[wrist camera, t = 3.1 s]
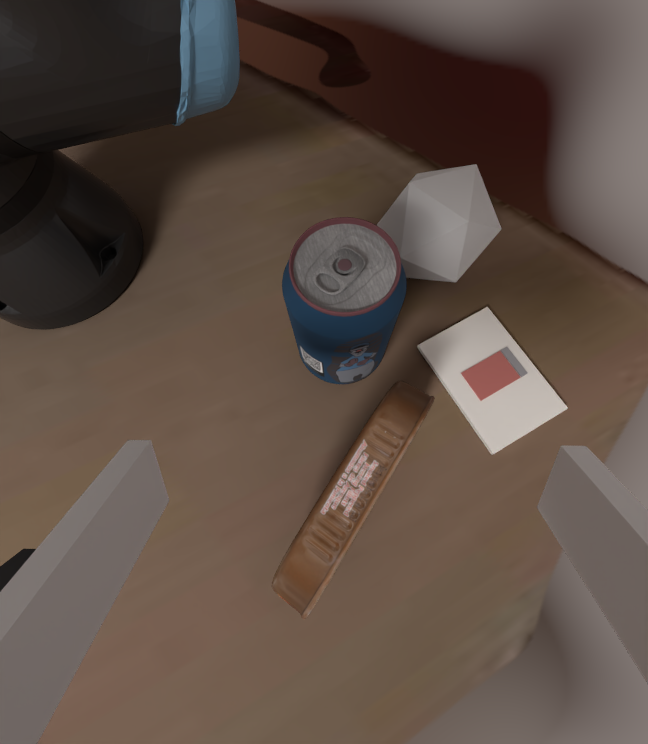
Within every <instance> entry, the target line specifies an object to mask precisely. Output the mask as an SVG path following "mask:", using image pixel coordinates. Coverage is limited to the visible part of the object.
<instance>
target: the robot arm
mask: <svg viewBox="0 0 648 744" xmlns="http://www.w3.org/2000/svg"><path fill="white" fill-rule="evenodd" d="M239 70H240V58H239V40H238V28H237V18H236V8H235V0H0V318H2V319H4V320H6V321H8V322H10V323H12V324H15V325H18V326H21V327H25V328H30V329H54V328H61V327H65V326H69V325H72V324H75V323H78V322H81V321H83V320H85V319H87V318H89V317H91V316H93V315H95V314H97V313H98V312H100V311H101V310H103V309H104V308H106V307H107V306H108V305H109V304H111V303H112V302H113V301H114V300H115V299H116V298H117V297H118V296H119V295H120V294H121V293H122V292H123V291H124V290H125V288H126V287H127V286H128V284H129V283H130V281H131V280H132V278H133V276H134V275H135V273H136V271H137V268H138V266H139V263H140V260H141V256H142V250H143V236H142V231H141V227H140V225H139V222H138V220H137V218H136V217H135V215H134V214H133V212H132V211H131V210H130V208H129V207H128V206H127V204H126V203H125V202H124V201H123V199H122V198H121V197H120V196H119V195H118V194H117V193H116V192H115V191H114V190H113V189H112V188H111V187H110V186H108V185H107V184H106V183H104V182H103V181H101V180H100V179H98V178H97V177H96V176H94V175H93V174H91V173H90V172H89V171H87V170H86V169H84V168H83V167H81V166H80V165H79V164H77V163H76V162H74V161H73V160H71V159H70V158H69V157H67V156H66V155H64V154H63V153H61V152H60V151H59V150H58V149H63V148H67V147H71V146H76V145H80V144H84V143H89V142H93V141H98V140H102V139H106V138H111V137H115V136H119V135H124V134H128V133H132V132H137V131H141V130H145V129H150V128H154V127H158V126H163V125H167V124H173V125H174V126H179V125H180V124H182V123H184V122H185V120H186V119H188V118H191V117H195V116H198V115H202V114H205V113H208V112H212V111H215V110H218V109H221V108H223V107H224V106H226V105H227V104H228V103H229V102H230V100H231V99H232V97H233V95H234V94H235V92H236V89H237V86H238V82H239ZM168 502H169V498H168V494H167V491H166V488H165V485H164V481H163V478H162V475H161V472H160V468H159V465H158V462H157V459H156V455H155V452H154V449H153V445H152V442H151V440H128V441H127V442H126V443H125V444H124V445H123V447H122V448H121V449H120V450H119V451H118V453H117V454H116V455H115V456H114V457H113V458H112V460H111V461H110V462H109V463H108V464H107V466H106V467H105V468H104V469H103V470H102V472H101V473H100V474H99V475H98V476H97V478H96V479H95V480H94V481H93V482H92V483H91V485H90V486H89V487H88V488H87V489H86V491H85V492H84V493H83V494H82V495H81V497H80V498H79V499H78V500H77V501H76V502H75V504H74V505H73V506H72V507H71V508H70V510H69V511H68V512H67V513H66V514H65V516H64V517H63V518H62V519H61V520H60V522H59V523H58V524H57V525H56V526H55V527H54V529H53V530H52V531H51V532H50V533H49V535H48V536H47V537H46V538H45V539H44V541H43V542H42V543H41V544H40V545H39V546H38V548H37V549H23V550H21V551H20V552H19V553H18V554H16V555H15V556H14V557H12V558H11V559H10V560H8V561H7V562H6V563H4V564H3V565H2V566H0V744H37V743H38V741H39V739H40V737H41V735H42V734H43V732H44V730H45V728H46V726H47V724H48V723H49V721H50V719H51V717H52V715H53V713H54V711H55V710H56V708H57V706H58V704H59V702H60V700H61V699H62V697H63V695H64V693H65V691H66V689H67V688H68V686H69V684H70V682H71V680H72V678H73V677H74V675H75V673H76V671H77V669H78V667H79V666H80V664H81V662H82V660H83V658H84V656H85V654H86V653H87V651H88V649H89V647H90V645H91V643H92V642H93V640H94V638H95V636H96V634H97V632H98V631H99V629H100V627H101V625H102V623H103V621H104V620H105V618H106V616H107V614H108V612H109V610H110V609H111V607H112V605H113V603H114V601H115V599H116V597H117V596H118V594H119V592H120V590H121V588H122V586H123V585H124V583H125V581H126V579H127V577H128V575H129V574H130V572H131V570H132V568H133V566H134V564H135V563H136V561H137V559H138V557H139V555H140V553H141V552H142V550H143V548H144V546H145V544H146V542H147V540H148V539H149V537H150V535H151V533H152V531H153V529H154V528H155V526H156V524H157V522H158V520H159V518H160V517H161V515H162V513H163V511H164V509H165V507H166V506H167V504H168ZM537 508H538V510H539V512H540V513H541V515H542V516H543V518H544V520H545V521H546V523H547V524H548V526H549V528H550V529H551V531H552V532H553V534H554V536H555V537H556V539H557V540H558V542H559V543H560V545H561V547H562V548H563V550H564V551H565V553H566V555H567V556H568V557H569V559H570V561H571V563H572V564H573V566H574V567H575V569H576V570H577V572H578V574H579V575H580V577H581V578H582V580H583V582H584V583H585V584H586V586H587V588H588V589H589V591H590V593H591V594H592V596H593V598H594V599H595V601H596V602H597V604H598V605H599V607H600V608H601V610H602V612H603V613H604V615H605V617H606V618H607V620H608V621H609V623H610V625H611V626H612V628H613V629H614V631H615V632H616V634H617V636H618V637H619V639H620V640H621V642H622V644H623V645H624V647H625V648H626V650H627V652H628V653H629V655H630V656H631V658H632V660H633V661H634V663H635V664H636V666H637V668H638V669H639V671H640V672H641V674H642V675H643V677H644V678H645V680H646V682H647V683H648V509H647V508H646V507H645V506H644V505H643V504H642V503H641V502H640V501H639V500H638V499H637V498H636V497H635V496H634V495H633V494H632V493H631V492H630V491H629V490H628V489H627V488H626V487H625V486H624V485H623V484H622V483H621V482H620V481H619V480H618V479H617V477H616V476H615V475H613V474H612V472H611V471H610V470H609V469H608V468H607V467H606V466H605V465H604V464H603V463H602V462H601V461H600V460H599V459H598V458H597V457H596V456H595V455H594V454H593V453H592V452H591V451H590V450H589V449H588V448H587V447H586V446H561V447H560V450H559V452H558V455H557V457H556V460H555V462H554V465H553V468H552V470H551V473H550V475H549V478H548V480H547V483H546V486H545V488H544V491H543V493H542V496H541V498H540V501H539V504H538V506H537Z"/></svg>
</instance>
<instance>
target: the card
mask: <svg viewBox="0 0 648 744" xmlns="http://www.w3.org/2000/svg"><path fill="white" fill-rule="evenodd" d="M417 348H418V349H419V351H420V352H421V354H422V355H423V357H424V358H425V360H426V361H427V362H428V364H429V365H430V367H431V368H432V370H433V371H434V373H435V374H436V375H437V377H438V378H439V380H440V381H441V383H442V384H443V386H444V387H445V388H446V390H447V391H448V393H449V394H450V396H451V397H452V399H453V400H454V401H455V403H456V404H457V406H458V407H459V409H460V410H461V412H462V413H463V414H464V416H465V417H466V419H467V420H468V422H469V423H470V425H471V426H472V427H473V429H474V430H475V432H476V433H477V435H478V436H479V438H480V439H481V440H482V442H483V443H484V445H485V446H486V448H487V449H488V451H489V452H490V453H491V454H494V453H496V452H498V451H499V450H501V449H503V448H504V447H506V446H507V445H509V444H511V443H512V442H514V441H516V440H517V439H519V438H520V437H522V436H524V435H525V434H527V433H529V432H530V431H532V430H533V429H535V428H537V427H538V426H540V425H542V424H543V423H545V422H547V421H548V420H550V419H551V418H553V417H555V416H556V415H558V414H560V413H561V412H563V411H564V410H566V409H568V407H567V406H566V405H565V404H564V402H563V401H562V400H561V399H560V397H559V396H558V395H557V394H556V392H555V391H554V390H553V389H552V387H551V386H550V385H549V384H548V382H547V381H546V380H545V378H544V377H543V376H542V375H541V373H540V372H539V371H538V370H537V368H536V367H535V366H534V365H533V363H532V362H531V361H530V360H529V358H528V357H527V356H526V355H525V353H524V352H523V351H522V349H521V348H520V347H519V346H518V344H517V343H516V342H515V341H514V339H513V338H512V337H511V336H510V334H509V333H508V332H507V331H506V329H505V328H504V327H503V326H502V324H501V323H500V322H499V320H498V319H497V318H496V317H495V315H494V314H493V313H492V312H491V310H490V309H489V308H488V307H486V308H484V309H482V310H481V311H479V312H477V313H475V314H473V315H471V316H470V317H468V318H466V319H464V320H462V321H461V322H459V323H457V324H455V325H453V326H452V327H450V328H448V329H446V330H444V331H442V332H441V333H439V334H437V335H435V336H433V337H432V338H430V339H428V340H426V341H424V342H422V343H421V344H419V345H418V346H417Z"/></svg>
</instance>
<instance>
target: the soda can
mask: <svg viewBox="0 0 648 744" xmlns="http://www.w3.org/2000/svg"><path fill="white" fill-rule="evenodd" d="M406 287H407V284H406V275H405V271H404V268H403V265H402V263H401V258H400V254H399V251H398V248H397V246H396V244H395V243H394V241H393V240H392V238H391V237H390V236H389V235H388V234H387V233H386V232H385V231H384V230H383V229H381V228H380V227H378V226H377V225H375V224H373V223H371V222H368V221H366V220H362V219H358V218H351V217H340V218H332V219H328V220H324V221H322V222H319V223H317V224H315V225H313V226H312V227H310V228H309V229H308V230H306V231H305V232H304V233H303V234H302V235H301V236H300V238H299V239H298V240H297V242H296V243H295V245H294V247H293V249H292V252H291V255H290V259H289V261H288V263H287V265H286V268H285V270H284V274H283V280H282V290H283V296H284V300H285V303H286V307H287V310H288V314H289V318H290V321H291V325H292V328H293V332H294V335H295V339H296V342H297V346H298V349H299V353H300V356H301V359H302V361H303V363H304V364H305V366H306V367H307V368H308V370H309V371H310V372H311V373H312V374H314V375H315V376H316V377H318V378H320V379H322V380H324V381H326V382H330V383H334V384H350V383H354V382H357V381H360V380H362V379H364V378H366V377H367V376H369V375H370V374H371V373H372V372H373V371H374V370H375V369H376V368H377V367H378V365H379V364H380V362H381V360H382V358H383V355H384V353H385V350H386V347H387V344H388V342H389V339H390V336H391V334H392V331H393V328H394V326H395V323H396V320H397V318H398V315H399V312H400V310H401V307H402V304H403V302H404V299H405V295H406Z"/></svg>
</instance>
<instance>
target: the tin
mask: <svg viewBox="0 0 648 744" xmlns="http://www.w3.org/2000/svg"><path fill="white" fill-rule="evenodd" d="M434 399H435V398H434V396H429V395H427V394H425V393H423V392H422V391H420V390H418V389H416V388H415V387H413V386H411V385H409V384H407V383H405V382H402V381H399V382H397V383H395V384H394V385H393V386H392V387H391V389H390V390H389V391H388V392H387V394H386V395H385V397H384V398H383V399H382V401H381V402H380V404H379V405H378V407H377V408H376V410H375V411H374V413H373V414H372V416H371V417H370V419H369V420H368V422H367V423H366V425H365V426H364V428H363V430H362V431H361V433H360V434H359V436H358V437H357V439H356V441H355V442H354V444H353V445H352V447H351V448H350V450H349V452H348V453H347V455H346V456H345V458H344V459H343V461H342V462H341V464H340V466H339V467H338V469H337V470H336V472H335V473H334V475H333V477H332V478H331V480H330V481H329V483H328V485H327V486H326V488H325V489H324V491H323V493H322V494H321V496H320V498H319V499H318V501H317V502H316V504H315V506H314V507H313V509H312V511H311V512H310V514H309V516H308V517H307V519H306V521H305V522H304V524H303V526H302V527H301V529H300V530H299V532H298V534H297V535H296V537H295V539H294V540H293V542H292V544H291V545H290V547H289V549H288V551H287V552H286V554H285V556H284V558H283V559H282V561H281V563H280V565H279V567H278V569H277V571H276V573H275V576H274V578H273V582H272V588H273V590H274V591H275V592H276V593H277V594H278V595H279V596H280V597H281V598H282V599H284V600H285V601H286V602H287V603H288V604H289V605H291V606H292V607H293V608H294V609H296V610H297V611H298V612H299V613H300V614H301V617H302V618H303V619H305V618H306V617H307V616H308V615H309V614H310V612H311V611H312V609H313V607H314V606H315V604H316V603H317V601H318V599H319V598H320V596H321V595H322V593H323V592H324V590H325V588H326V587H327V585H328V583H329V582H330V580H331V578H332V577H333V575H334V574H335V571H336V570H337V568H338V566H339V565H340V563H341V562H342V560H343V558H344V556H345V555H346V553H347V551H348V549H349V548H350V546H351V544H352V543H353V541H354V539H355V538H356V536H357V534H358V532H359V531H360V529H361V527H362V526H363V524H364V522H365V521H366V519H367V517H368V515H369V513H370V512H371V510H372V508H373V507H374V505H375V503H376V501H377V500H378V498H379V497H380V495H381V493H382V491H383V490H384V488H385V486H386V484H387V483H388V481H389V479H390V477H391V476H392V474H393V473H394V471H395V469H396V467H397V466H398V464H399V462H400V460H401V459H402V457H403V456H404V454H405V452H406V450H407V449H408V447H409V445H410V444H411V442H412V440H413V438H414V437H415V435H416V433H417V432H418V430H419V428H420V426H421V424H422V422H423V421H424V419H425V417H426V415H427V413H428V411H429V409H430V407H431V406H432V404H433V402H434Z"/></svg>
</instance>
